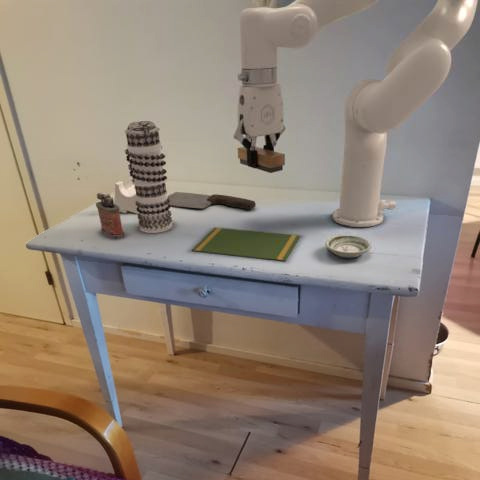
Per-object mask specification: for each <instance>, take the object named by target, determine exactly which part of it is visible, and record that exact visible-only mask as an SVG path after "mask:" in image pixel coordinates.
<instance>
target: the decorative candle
mask: <svg viewBox="0 0 480 480" xmlns="http://www.w3.org/2000/svg"><path fill="white" fill-rule="evenodd" d="M159 130H160V127H157V125H156V124H155V122H153V121H149V120H142V121H134V122H133V121H132V122H130V123H129V124H128V126H127V128H126V129H125V130H124V133H125V136H126V142H127V143H126V147H127V148H126V149H125V150H124V153H125V155H126V161H127V162H128V163H129V164H128V170H129V176H130V177H131V183H132V185H135V190H136V200H137V201H136V202H135V203H136V206H138V207H137V212H139V213H138V214H137V220H138V225H139V229H140V231H141V232H143V233H147V234H157V233H162V232H163V233H164V232H167V231H169V230H171V229H172V227H173V217H172V214H173V213H172V211H171V210H170V209H171V205H170V204H168V203H169V202H170V200H169V198H168V196H169V194H168V190H167V187H166V182H168V180H167V179H168V177H167V175H165V174H167V170H166V169H165V168H164V166H166V165H167V162H166V161H165V160H164V159H165V158H166V155H165V154H164V153H162V151H161V150H162V148H163V145H162V142H161V140H160V133H159V132H160V131H159Z"/></svg>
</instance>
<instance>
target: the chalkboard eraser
mask: <svg viewBox="0 0 480 480" xmlns="http://www.w3.org/2000/svg"><path fill="white" fill-rule="evenodd" d="M255 150H257V152H258V153H257V159H258V167H257V168H255V169H256V170H260V171H263V172H266V173H268V174H272V173H273V174H274V173H276V172H281V171H283V168H284V166H285V165H286V154H285V153H282V152H279V151H275V150H274V151H271V150H267V149H263V147H259V146H256V147H255ZM237 159H239V164H241V165H243V166H247V167H249V166H248V163H247V149H245V148H244V146H241V147H237Z"/></svg>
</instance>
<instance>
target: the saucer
mask: <svg viewBox="0 0 480 480" xmlns="http://www.w3.org/2000/svg"><path fill="white" fill-rule="evenodd" d="M324 243H325V244H324V245H325V247H326V248H327V250H328V251H330V252H331V253H332V254H334V255H336V256H337V257H339V258H343V259H353V258H357V257H359V256H362V255H364V254H365V253H367V252H368V251H370V250H371V249H372V243H371V242H370V241H369V240H368V239H367V238H363V237H361V236H356V235H351V234H341V235H340V234H339V235H335V236H331V237H329V238H327V239H326V241H325V242H324Z"/></svg>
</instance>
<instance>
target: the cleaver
mask: <svg viewBox="0 0 480 480" xmlns="http://www.w3.org/2000/svg"><path fill="white" fill-rule="evenodd" d="M168 198H169V200H170V202H169V203H168V204H170V206H173V207H174V206H175V207H181V208H182V207H183V208H191V209H205V208H207V207H209V206H212V205H219V204H220V205H224V206H227V207H230V208H231V207H232V208H241V209H243V210H244V209H245V210H248V211H250V210H253V209H255V208H256V205H257V204H256V201H255V200H252V199H248V198H243V197H237V196H231V195H225V194H218V193H215V194H214V193H213V194H212V195H211V194H202V193H193V192H183V191H175V192H173V193H171V194H168Z"/></svg>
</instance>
